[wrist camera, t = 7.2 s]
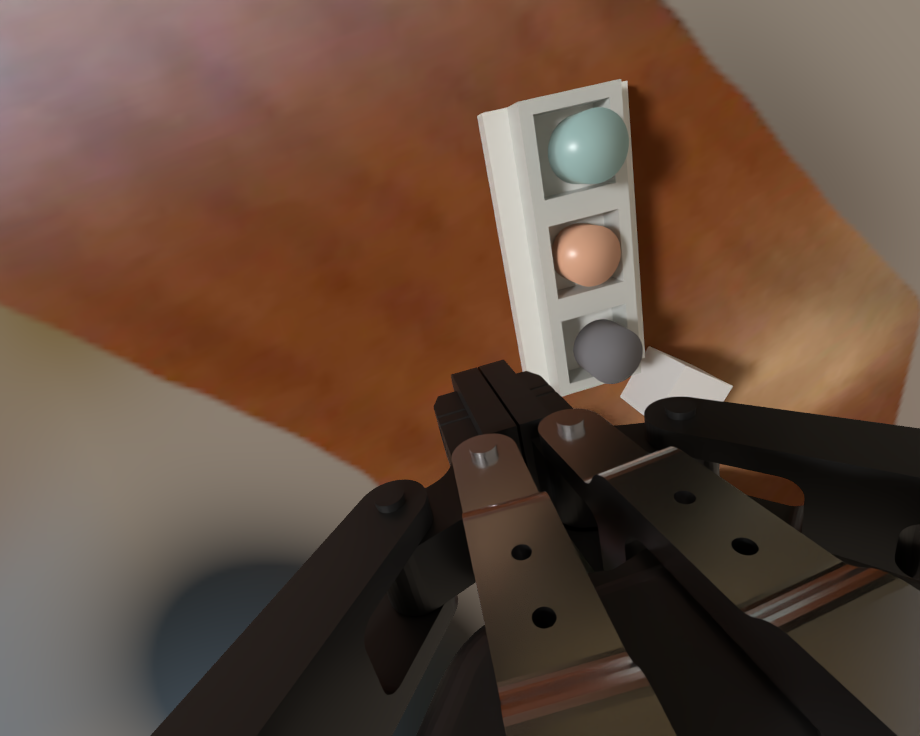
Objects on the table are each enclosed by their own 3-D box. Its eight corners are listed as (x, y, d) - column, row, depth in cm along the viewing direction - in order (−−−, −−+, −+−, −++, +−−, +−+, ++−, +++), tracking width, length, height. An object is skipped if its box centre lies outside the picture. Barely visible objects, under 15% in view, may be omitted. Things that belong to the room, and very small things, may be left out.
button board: (477, 116, 37) (491, 107, 33) (617, 84, 38) (645, 73, 35) (525, 385, 46) (540, 402, 43) (636, 352, 48) (660, 366, 44)
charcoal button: (570, 327, 40) (586, 337, 38) (621, 312, 41) (641, 321, 38) (576, 377, 42) (592, 390, 39) (625, 362, 43) (644, 374, 40)
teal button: (543, 121, 34) (559, 115, 31) (604, 107, 35) (626, 100, 32) (552, 190, 36) (568, 190, 33) (610, 176, 36) (631, 175, 34)
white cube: (691, 364, 50) (733, 386, 44) (662, 412, 51) (699, 440, 46) (647, 345, 48) (686, 365, 42) (619, 396, 49) (652, 422, 44)
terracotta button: (547, 230, 39) (561, 233, 37) (600, 216, 40) (618, 218, 37) (554, 286, 41) (568, 293, 38) (605, 272, 42) (623, 278, 39)
